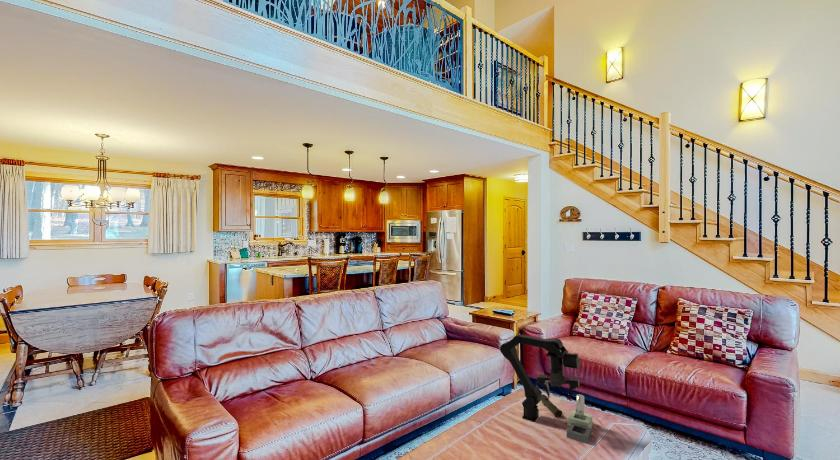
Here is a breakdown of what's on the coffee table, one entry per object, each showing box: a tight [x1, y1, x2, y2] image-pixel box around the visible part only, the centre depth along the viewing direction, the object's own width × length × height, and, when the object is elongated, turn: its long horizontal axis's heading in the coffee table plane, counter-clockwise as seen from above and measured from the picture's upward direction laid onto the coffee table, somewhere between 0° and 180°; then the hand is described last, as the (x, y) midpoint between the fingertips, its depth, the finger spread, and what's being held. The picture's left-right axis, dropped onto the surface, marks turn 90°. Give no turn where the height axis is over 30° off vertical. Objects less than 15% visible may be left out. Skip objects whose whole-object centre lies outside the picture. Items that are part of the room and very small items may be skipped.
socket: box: [566, 423, 593, 445], centre depth 176 cm, size 9×9×3 cm
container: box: [566, 410, 594, 428], centre depth 186 cm, size 10×10×4 cm
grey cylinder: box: [575, 393, 585, 420], centre depth 186 cm, size 4×4×13 cm
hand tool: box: [541, 393, 563, 418], centre depth 202 cm, size 19×4×5 cm, turn 6°
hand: (559, 398), depth 184 cm, fingers open, 9 cm apart
